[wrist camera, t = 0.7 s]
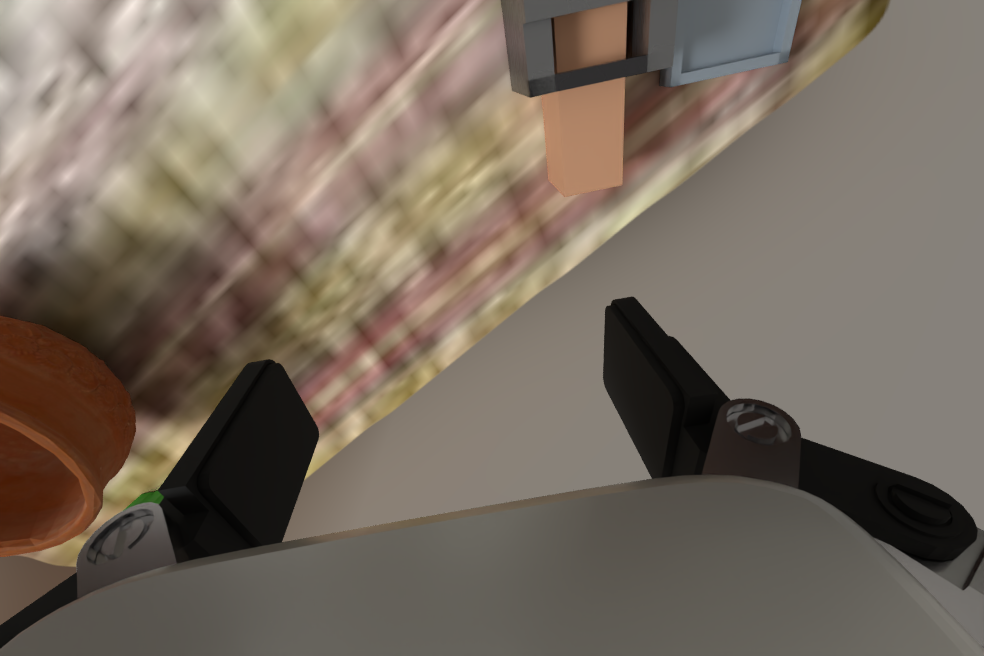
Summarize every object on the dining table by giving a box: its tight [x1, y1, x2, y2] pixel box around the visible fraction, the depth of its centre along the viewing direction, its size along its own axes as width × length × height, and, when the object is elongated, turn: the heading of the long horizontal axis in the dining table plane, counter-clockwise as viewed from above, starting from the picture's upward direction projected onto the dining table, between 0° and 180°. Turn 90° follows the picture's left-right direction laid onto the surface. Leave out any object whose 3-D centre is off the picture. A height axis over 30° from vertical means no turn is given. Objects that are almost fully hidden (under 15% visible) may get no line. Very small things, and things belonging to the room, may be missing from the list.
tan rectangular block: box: [542, 2, 627, 197], centre depth 31 cm, size 13×5×6 cm, turn 10°
